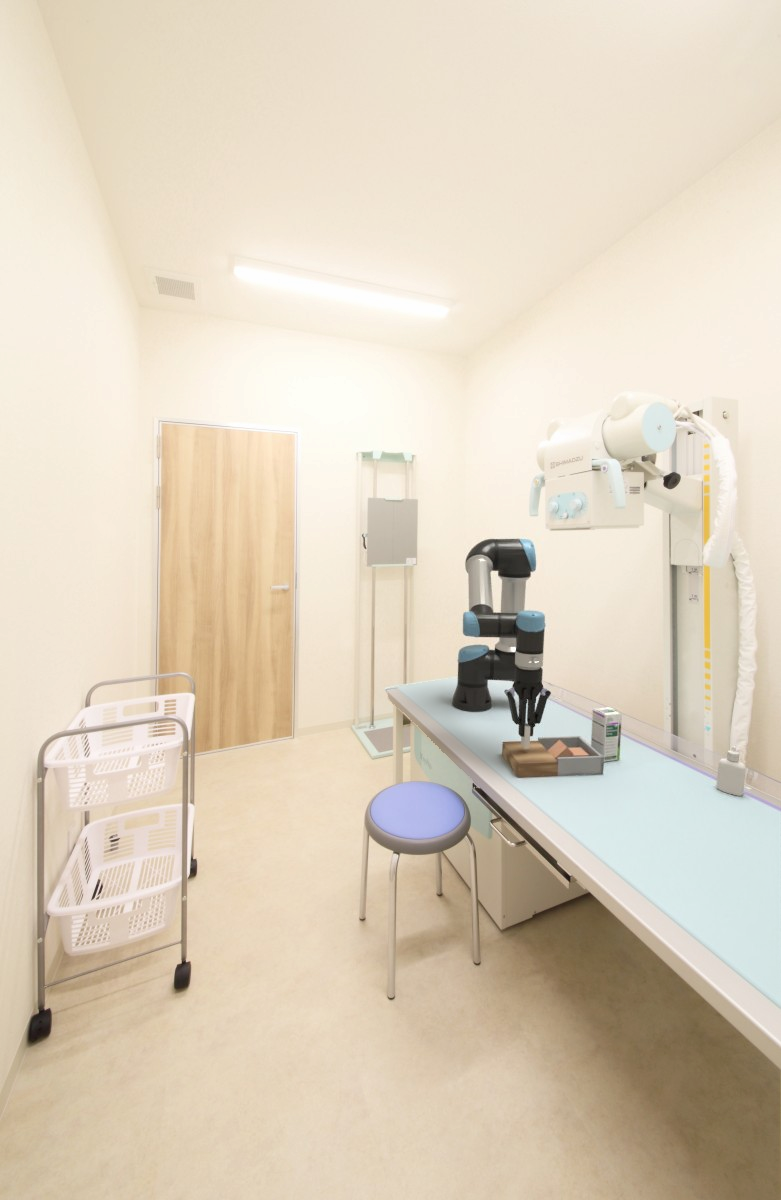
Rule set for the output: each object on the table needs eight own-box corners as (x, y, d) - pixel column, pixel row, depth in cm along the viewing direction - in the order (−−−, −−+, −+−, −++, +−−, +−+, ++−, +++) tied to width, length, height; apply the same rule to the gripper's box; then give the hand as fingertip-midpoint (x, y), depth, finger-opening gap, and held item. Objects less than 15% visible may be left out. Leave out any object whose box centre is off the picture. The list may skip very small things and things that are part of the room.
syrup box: (603, 762, 137) (606, 714, 135) (589, 753, 143) (592, 707, 141) (619, 760, 139) (623, 712, 137) (605, 751, 144) (608, 706, 142)
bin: (537, 753, 143) (538, 737, 142) (578, 751, 144) (579, 736, 143) (557, 776, 129) (558, 758, 129) (603, 774, 130) (604, 757, 130)
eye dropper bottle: (725, 784, 125) (729, 741, 124) (746, 795, 120) (751, 750, 118) (712, 786, 124) (717, 743, 122) (733, 798, 119) (738, 752, 117)
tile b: (580, 747, 139) (580, 757, 139) (564, 747, 138) (563, 757, 139) (589, 755, 134) (588, 765, 134) (572, 755, 134) (571, 765, 134)
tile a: (553, 758, 139) (546, 751, 138) (565, 746, 138) (559, 739, 138) (560, 766, 134) (554, 759, 133) (573, 754, 133) (567, 747, 133)
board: (502, 754, 142) (502, 741, 142) (537, 753, 143) (538, 740, 142) (518, 777, 128) (519, 763, 128) (557, 776, 129) (558, 762, 129)
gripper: (510, 670, 128) (507, 753, 131) (557, 669, 129) (552, 751, 132) (501, 663, 135) (498, 741, 138) (545, 662, 136) (541, 740, 139)
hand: (525, 746), depth 135 cm, fingers closed
